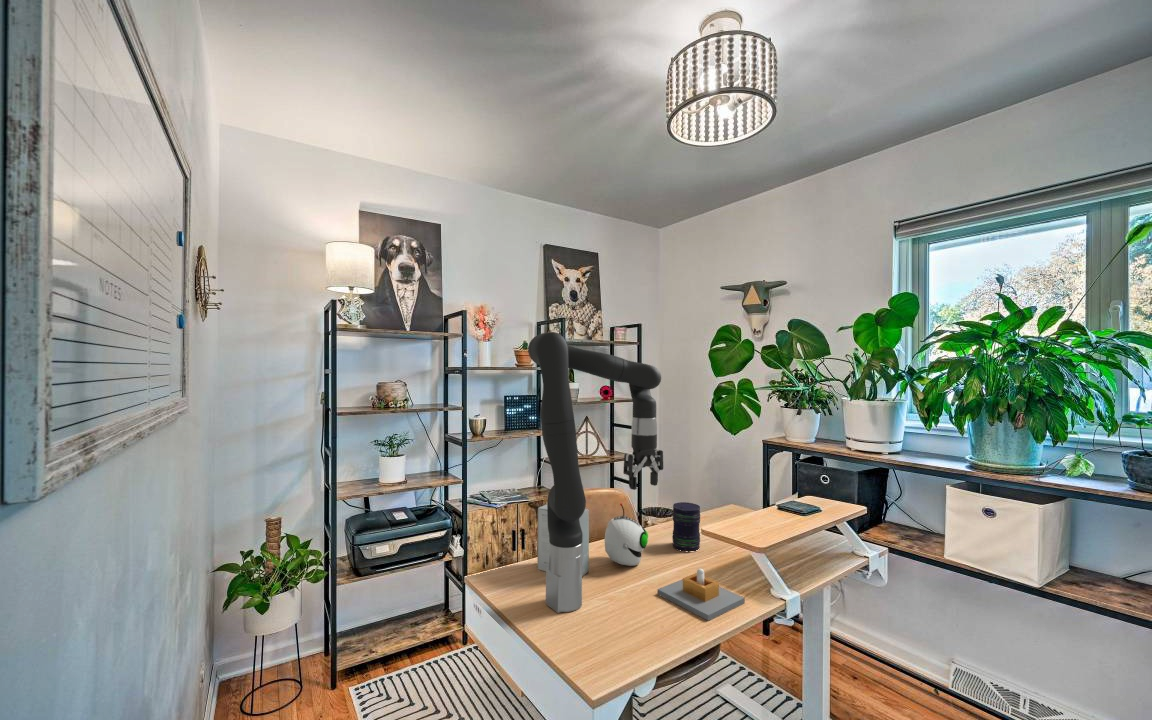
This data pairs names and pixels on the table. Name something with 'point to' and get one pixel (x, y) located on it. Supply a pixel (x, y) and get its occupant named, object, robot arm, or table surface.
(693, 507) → the storage jar
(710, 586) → the open wooden box
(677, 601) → the plate
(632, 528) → the robot head
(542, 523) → the hard drive box
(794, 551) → the table surface
